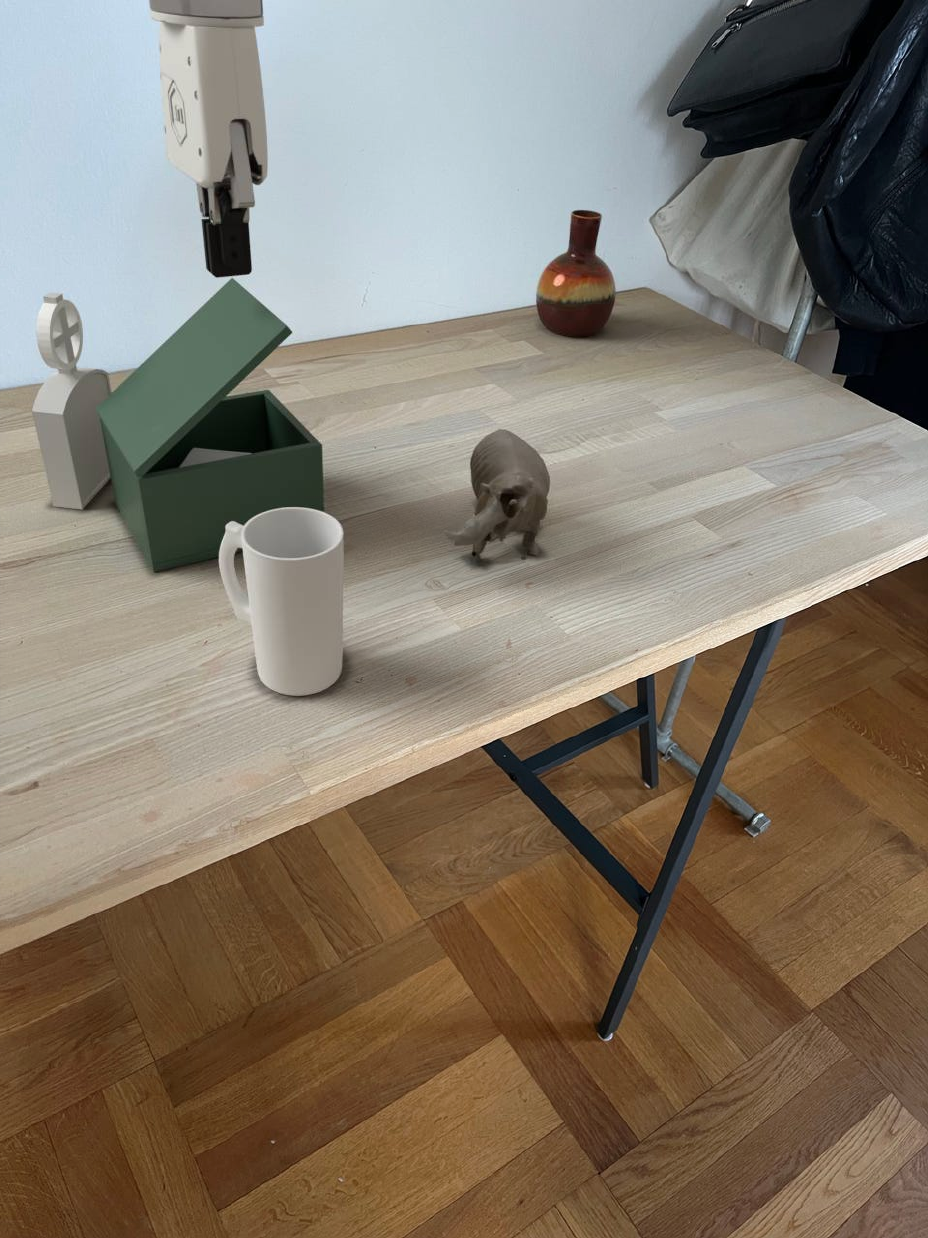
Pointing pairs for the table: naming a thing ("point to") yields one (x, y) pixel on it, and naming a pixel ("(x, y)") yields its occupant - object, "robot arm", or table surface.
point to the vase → (577, 283)
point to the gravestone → (69, 408)
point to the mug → (290, 595)
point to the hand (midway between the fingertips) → (229, 272)
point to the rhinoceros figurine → (505, 493)
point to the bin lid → (190, 374)
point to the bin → (218, 479)
